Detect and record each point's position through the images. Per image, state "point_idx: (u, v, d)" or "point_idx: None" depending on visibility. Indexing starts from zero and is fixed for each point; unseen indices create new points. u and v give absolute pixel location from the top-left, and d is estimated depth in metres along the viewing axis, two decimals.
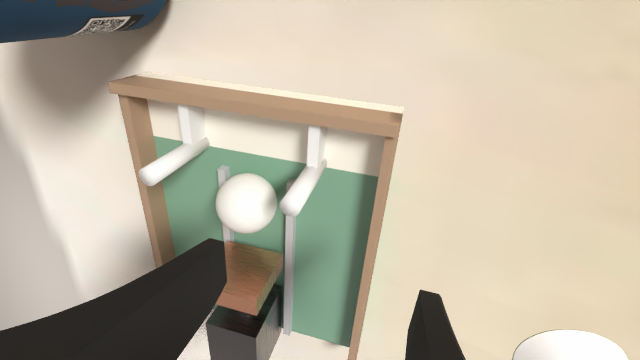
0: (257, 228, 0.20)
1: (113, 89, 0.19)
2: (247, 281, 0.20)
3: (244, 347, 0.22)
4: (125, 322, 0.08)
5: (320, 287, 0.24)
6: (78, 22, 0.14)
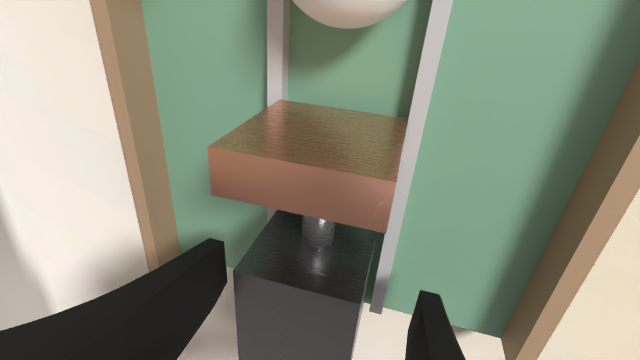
0: None
1: None
2: (351, 149, 0.08)
3: (324, 328, 0.09)
4: (125, 322, 0.08)
5: (466, 209, 0.12)
6: None
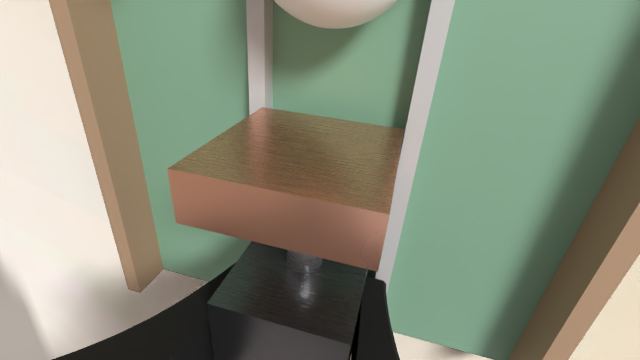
0: None
1: None
2: (337, 170, 0.07)
3: None
4: (189, 342, 0.08)
5: (469, 227, 0.11)
6: None
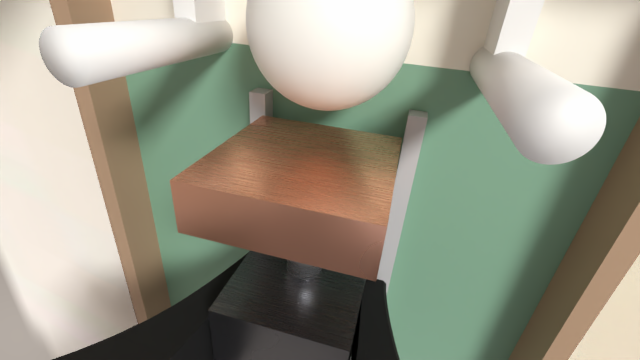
0: None
1: None
2: (336, 181, 0.07)
3: None
4: (189, 342, 0.08)
5: (432, 332, 0.13)
6: None
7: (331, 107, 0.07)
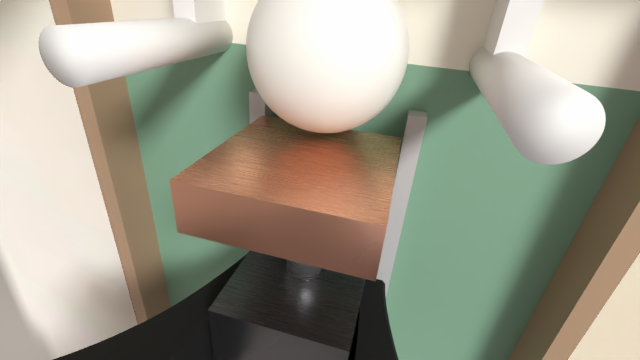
0: (381, 7, 0.06)
1: None
2: (336, 180, 0.07)
3: None
4: (189, 342, 0.08)
5: (432, 332, 0.13)
6: None
7: (333, 132, 0.08)
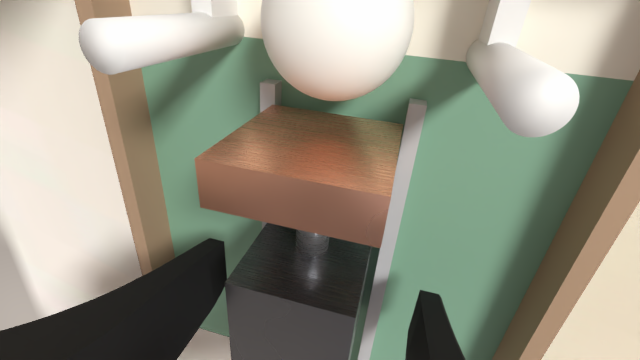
0: None
1: None
2: (344, 159, 0.07)
3: (318, 341, 0.09)
4: (125, 322, 0.08)
5: None
6: None
7: (339, 98, 0.08)
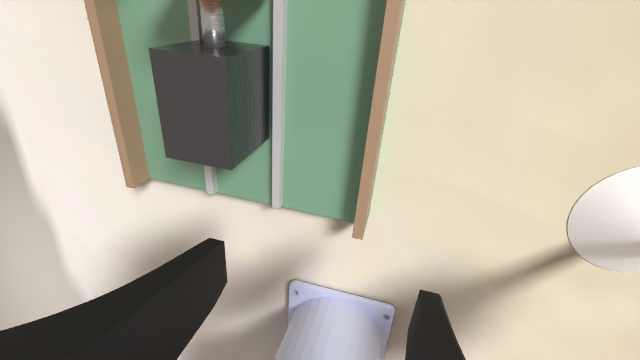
0: None
1: None
2: None
3: (208, 86, 0.14)
4: (125, 322, 0.08)
5: (319, 130, 0.19)
6: None
7: None
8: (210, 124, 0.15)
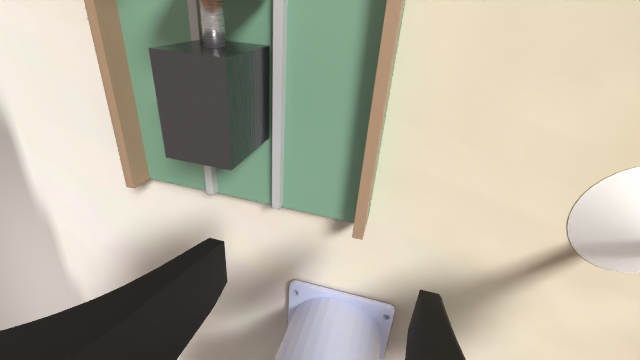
0: None
1: None
2: None
3: (208, 86, 0.14)
4: (125, 322, 0.08)
5: (319, 130, 0.19)
6: None
7: None
8: (210, 124, 0.15)
